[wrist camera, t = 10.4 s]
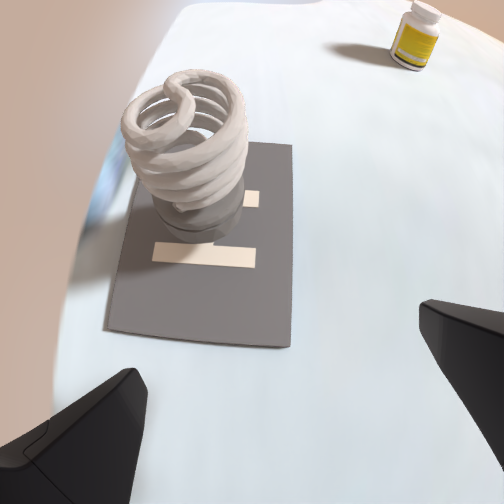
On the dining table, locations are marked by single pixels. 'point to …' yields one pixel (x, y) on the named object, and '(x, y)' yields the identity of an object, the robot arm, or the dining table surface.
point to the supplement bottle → (416, 36)
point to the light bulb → (191, 153)
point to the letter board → (214, 266)
